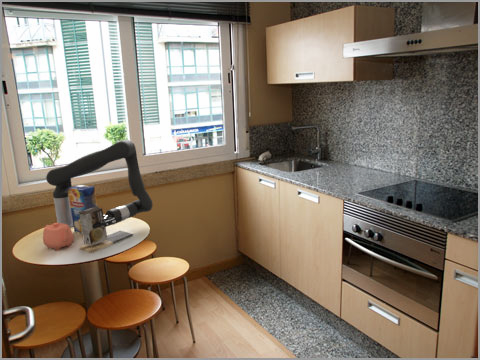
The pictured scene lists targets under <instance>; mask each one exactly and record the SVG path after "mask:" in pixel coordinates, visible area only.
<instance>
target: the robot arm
mask: <svg viewBox="0 0 480 360" xmlns="http://www.w3.org/2000/svg"><path fill="white" fill-rule="evenodd" d="M123 159H124V160H125V162H126V167H127V179H128V185H129V188H130V191H131V193H132V195H133V196H134V197H137V198H138V199H136V200H134V201H131V202H130V203H127V204H124V205H121V206H120V205H119V206H117V207H116V206H115V207H114V208H111V209H108V210H106V212H105V214H103V216H104V219H103V221H100V222H98V223H95V224H93V225H92V226H93V229H96V228H98V227H103V226H104V227H111V226H113V225H116V224H118V223H122V222H124V221H126V220H127V219H129V218H133V217H134V216H136V215H137V214H140V213H146V212H150V211H152V209H153V206H154V205H153V200H152V199H151V197H150V195H149V193H148V191H147V190H146V188H145V184H144V181H143V178H142V175H141V171H140V168H139V167H140V165H139V160H138V155H137V149H136V145H135V143H134V142H133V141H132V140H130V139H122V140H119V141H117V142H115V143H113V144H111V145H110V146H109V147H106V148H104V149H101V150H98V151H94V152H91V153H89V154H86V155H83V156H82V157H80V158H78V159H76V160H74V161H71V162H70V163H69V164H66V165H65V166H59V167H55V168H53V169H50V170H49V171H48V172H47V173H46V176H45V179H46V182H47V183H48V184H49V185H51V186H54V187H55V188H54V190H53V192H52V196H53V198H52V199H53V203H54V208H55V215H56V223H63V224H67V225H68V226H69V227H70V228H71V227H74V226H73V220H72V214H71V208H70V202H69V196H68V190H67V188H71V187H73V186H72V179H74V178H78V177H80V176H84V175H87V174H90V173H93V172H96V171H98V170H99V169H101V168H103V167H105V166H107V164H109V163H111V162H115V161H119V160H123Z"/></svg>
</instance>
